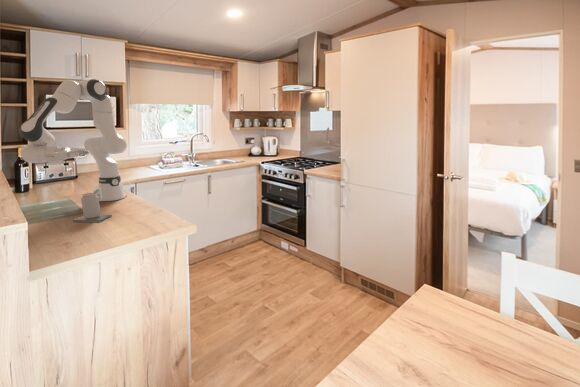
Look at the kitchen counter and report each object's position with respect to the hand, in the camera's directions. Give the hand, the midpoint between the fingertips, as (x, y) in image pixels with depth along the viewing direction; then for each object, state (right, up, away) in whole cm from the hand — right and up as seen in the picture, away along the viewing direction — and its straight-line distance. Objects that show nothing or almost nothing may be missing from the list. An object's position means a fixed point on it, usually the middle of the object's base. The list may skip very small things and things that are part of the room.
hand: (84, 153), depth 183 cm
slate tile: (+7, -34, -4) cm, 34 cm away
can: (+7, -33, -4) cm, 34 cm away
